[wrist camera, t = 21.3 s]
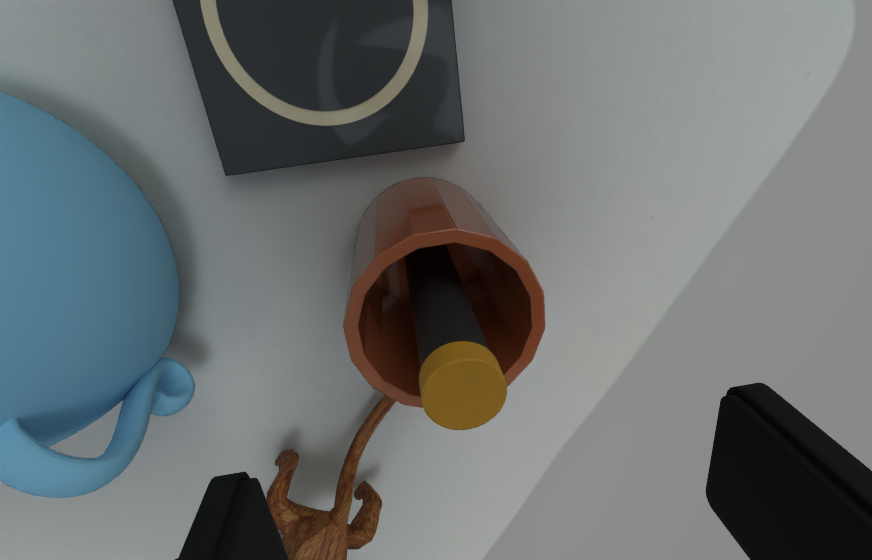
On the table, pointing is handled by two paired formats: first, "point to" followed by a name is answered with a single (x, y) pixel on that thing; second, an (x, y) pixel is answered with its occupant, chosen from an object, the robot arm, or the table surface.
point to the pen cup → (477, 268)
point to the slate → (323, 78)
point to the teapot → (78, 306)
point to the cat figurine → (328, 530)
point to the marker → (451, 345)
